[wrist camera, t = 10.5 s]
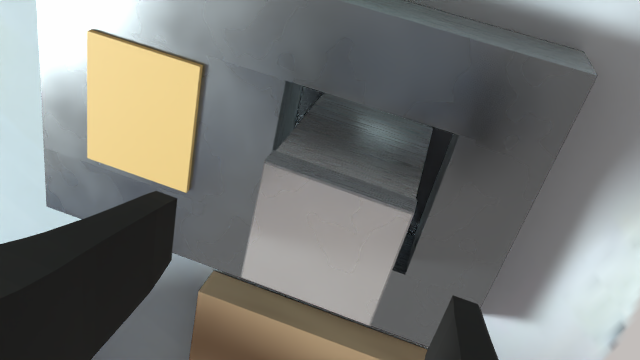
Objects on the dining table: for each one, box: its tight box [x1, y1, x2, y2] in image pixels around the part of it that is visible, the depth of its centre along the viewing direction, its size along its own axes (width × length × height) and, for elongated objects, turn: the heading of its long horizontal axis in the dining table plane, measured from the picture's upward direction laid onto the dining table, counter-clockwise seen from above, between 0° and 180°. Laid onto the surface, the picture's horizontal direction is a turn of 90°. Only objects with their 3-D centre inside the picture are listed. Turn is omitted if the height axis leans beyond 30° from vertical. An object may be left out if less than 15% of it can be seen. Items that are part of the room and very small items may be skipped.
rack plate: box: [37, 0, 597, 347], centre depth 19 cm, size 11×17×3 cm, turn 77°
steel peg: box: [241, 93, 433, 326], centre depth 18 cm, size 4×4×6 cm
